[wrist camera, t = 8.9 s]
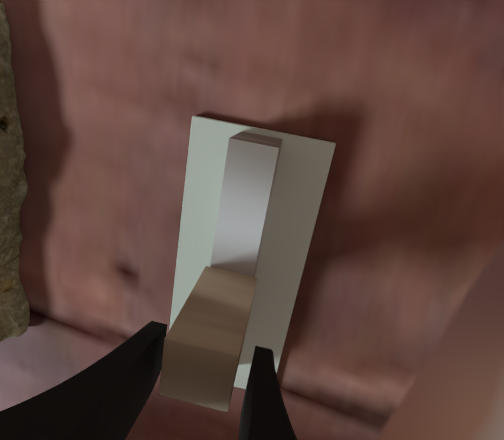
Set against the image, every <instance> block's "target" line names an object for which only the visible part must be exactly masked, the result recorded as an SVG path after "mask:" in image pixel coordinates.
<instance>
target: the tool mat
mask: <svg viewBox="0 0 504 440" xmlns="http://www.w3.org/2000/svg"><path fill="white" fill-rule="evenodd" d="M241 131H244V132H250V133H255V134H260V135H265V136H270V137H275V138H280V139H283V141H282V146H281V151H280V156H279V161H278V166H277V171H276V176H275V181H274V186H273V190H272V195H271V200H270V205H269V210H268V215H267V220H266V225H265V230H264V235H263V240H262V245H261V249H260V254H259V259H258V264H257V269H256V274H255V277H257V283H256V288H255V292H254V297H253V302H252V307H251V312H250V317H249V321H248V326H247V330H246V334H245V339H244V343H243V347H242V352H241V356H240V360H239V365H238V369H237V373H236V377H235V382H234V387H238V388H242V389H246V386H247V381H248V377H249V372H250V368H251V363H252V359H253V354H254V350H255V346H260V347H264V348H268V349H271V350H272V351H273V354H274V364H275V370H276V373H277V369H278V366H279V362H280V358H281V354H282V350H283V346H284V342H285V338H286V335H287V331H288V327H289V323H290V319H291V315H292V311H293V308H294V304H295V300H296V296H297V292H298V288H299V284H300V281H301V277H302V273H303V269H304V265H305V261H306V257H307V254H308V250H309V246H310V242H311V238H312V234H313V230H314V227H315V223H316V219H317V215H318V211H319V207H320V203H321V200H322V196H323V192H324V188H325V184H326V180H327V176H328V173H329V169H330V165H331V161H332V157H333V153H334V149H335V146H336V143H334V142H329V141H324V140H319V139H314V138H309V137H303V136H298V135H293V134H288V133H283V132H278V131H273V130H267V129H262V128H257V127H252V126H247V125H242V124H236V123H231V122H226V121H221V120H216V119H211V118H205V117H200V116H192V122H191V131H190V140H189V150H188V159H187V168H186V178H185V187H184V197H183V206H182V215H181V225H180V234H179V243H178V253H177V262H176V272H175V281H174V290H173V300H172V309H171V318H170V328H171V327H172V325H173V323H174V321H175V319H176V318H177V316H178V314H179V312H180V311H181V309H182V307H183V305H184V304H185V302H186V300H187V298H188V296H189V295H190V293H191V291H192V289H193V288H194V286H195V284H196V282H197V281H198V279H199V277H200V275H201V274H202V272H203V270H204V268H205V266H208V267H210V264H211V257H212V250H213V244H214V237H215V230H216V223H217V217H218V210H219V203H220V196H221V189H222V183H223V176H224V169H225V162H226V156H227V149H228V142H229V138H230V137H232V136H234V135H236V134H238V133H239V132H241ZM170 328H169V330H170Z"/></svg>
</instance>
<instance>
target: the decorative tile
mask: <svg viewBox="0 0 504 440" xmlns="http://www.w3.org/2000/svg"><path fill="white" fill-rule="evenodd" d="M25 158H26V153H25V151H24V139H23V131H22V128H21V120H20V117H19V113H18V109H17V103H16V93H15V77H14V72H13V69H12V67H11V40H10V28H9V24H8V20H7V15H6V11H5V6H4V3H2V2H0V342H1V341H2V340H4V339H6V338H11V337H18V336H20V335H22V334H23V333H25V332H26V331H27V328H28V325H29V323H30V309H29V302H28V300H27V298H26V294H25V291H24V288H23V285H22V284H21V282H20V279H19V274H20V273H19V270H18V268H19V254H20V251H19V248H20V245H21V242H22V240H23V237H22V233H21V230H20V219H19V215H20V209H21V206H22V204H23V201H24V199H25V197H26V195H27V192H28V184H27V179H26V176H25V172H24V171H23V166H24V160H25Z"/></svg>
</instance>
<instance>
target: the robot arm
mask: <svg viewBox="0 0 504 440" xmlns="http://www.w3.org/2000/svg"><path fill="white" fill-rule="evenodd" d="M166 330H167V324H162V323H158V322H154V321H151V322H150V323H148V324H147V325H146V326H144V327H143V328H142V329H141V330H139V331H138V332H137V333H136V334H134V335H133V336H132V337H130V338H129V339H128V340H126V341H125V342H124V343H123V344H121V345H120V346H118V347H117V348H116V349H114V350H113V351H112V352H110V353H109V354H107V355H106V356H104V357H103V358H101V359H100V360H98V361H97V362H95V363H94V364H92V365H91V366H89V367H88V368H86V369H85V370H83V371H81V372H80V373H78V374H76V375H75V376H73V377H71V378H70V379H68V380H66V381H64V382H62V383H61V384H59V385H57V386H55V387H53V388H51V389H49V390H47V391H45V392H43V393H41V394H39V395H37V396H35V397H33V398H31V399H28V400H26V401H24V402H22V403H20V404H17V405H15V406H13V407H10V408H8V409H5V410H3V411H0V440H125V438H126V437H127V435H128V433H129V431H130V430H131V428H132V426H133V424H134V422H135V421H136V419H137V417H138V415H139V414H140V412H141V410H142V408H143V407H144V405H145V403H146V401H147V399H148V398H149V396H150V394H151V392H152V390H153V388H154V385H155V383H156V381H157V379H158V376H159V374H160V371H161V369H162V359H163V349H164V339H165V337H166ZM238 440H297V438H296V436H295V433H294V431H293V428H292V425H291V423H290V420H289V417H288V414H287V411H286V408H285V405H284V402H283V398H282V395H281V391H280V387H279V384H278V379H277V375H276V370H275V364H274V354H273V351H272V350H271V349H268V348H264V347H260V346H255V350H254V354H253V359H252V363H251V368H250V372H249V377H248V381H247V386H246V391H245V396H244V401H243V406H242V412H241V420H240V429H239V439H238Z"/></svg>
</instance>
